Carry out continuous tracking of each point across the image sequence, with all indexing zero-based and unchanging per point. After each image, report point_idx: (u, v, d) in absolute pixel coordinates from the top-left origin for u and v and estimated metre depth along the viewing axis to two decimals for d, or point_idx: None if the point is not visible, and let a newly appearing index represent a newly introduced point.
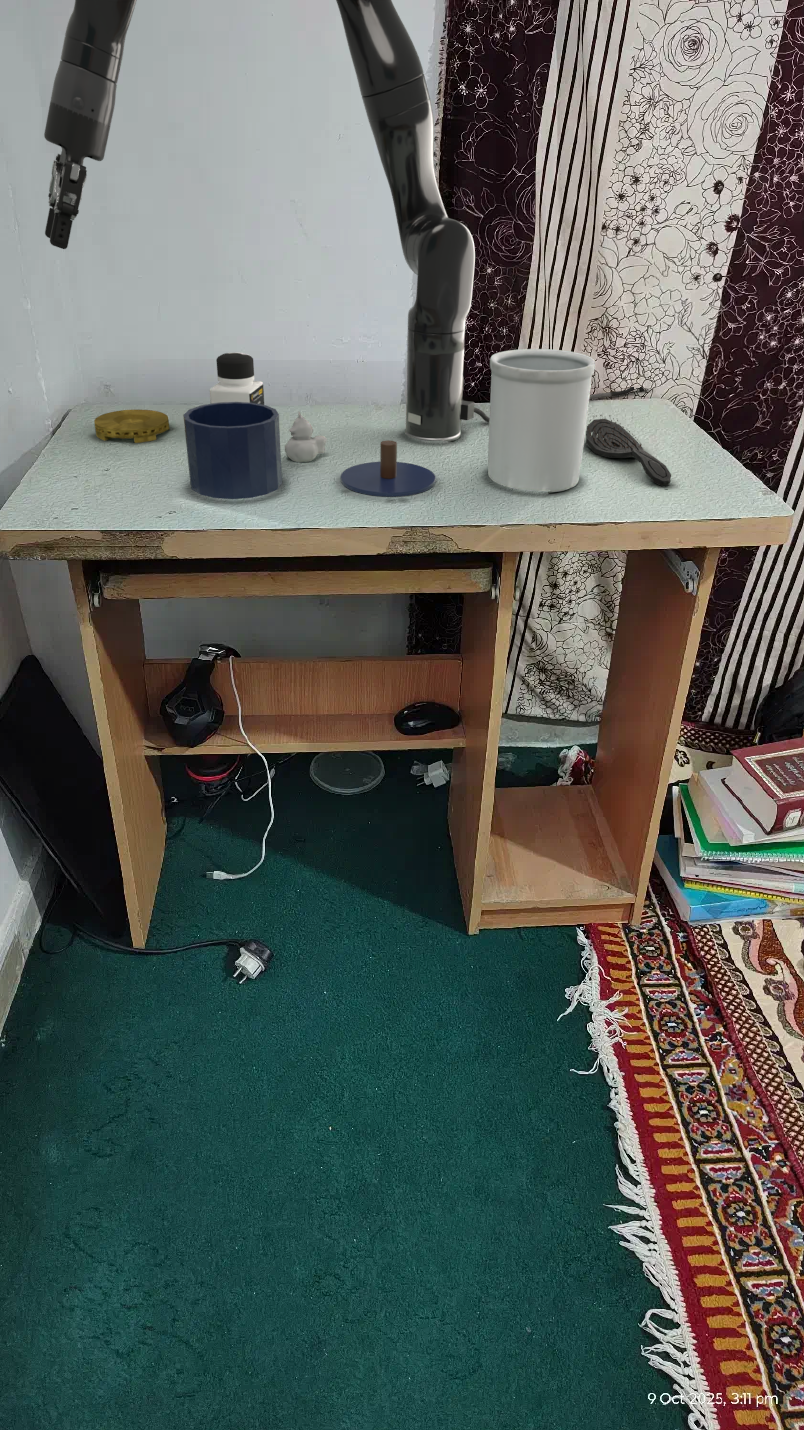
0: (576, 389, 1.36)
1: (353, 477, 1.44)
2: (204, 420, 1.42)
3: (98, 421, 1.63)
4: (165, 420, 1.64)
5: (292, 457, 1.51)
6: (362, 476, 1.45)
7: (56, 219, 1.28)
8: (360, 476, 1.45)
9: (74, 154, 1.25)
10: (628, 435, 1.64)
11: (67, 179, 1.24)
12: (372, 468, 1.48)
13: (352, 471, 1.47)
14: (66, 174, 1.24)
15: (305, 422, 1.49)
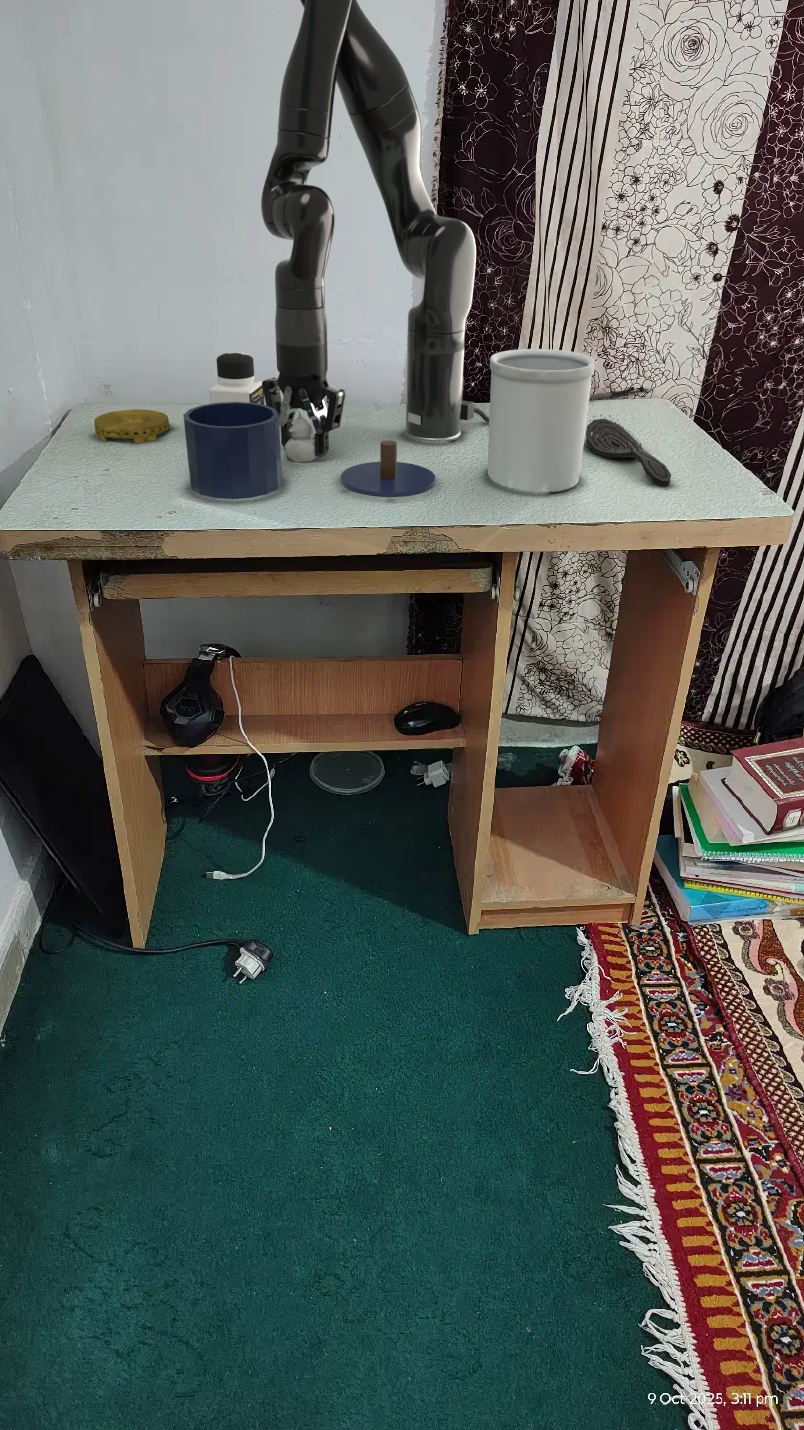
0: (576, 389, 1.36)
1: (353, 477, 1.44)
2: (204, 420, 1.42)
3: (98, 421, 1.63)
4: (165, 420, 1.64)
5: (292, 457, 1.51)
6: (362, 476, 1.45)
7: (319, 437, 1.49)
8: (360, 476, 1.45)
9: (322, 377, 1.45)
10: (628, 435, 1.64)
11: (336, 407, 1.46)
12: (372, 468, 1.48)
13: (352, 471, 1.47)
14: (336, 404, 1.45)
15: (305, 422, 1.49)
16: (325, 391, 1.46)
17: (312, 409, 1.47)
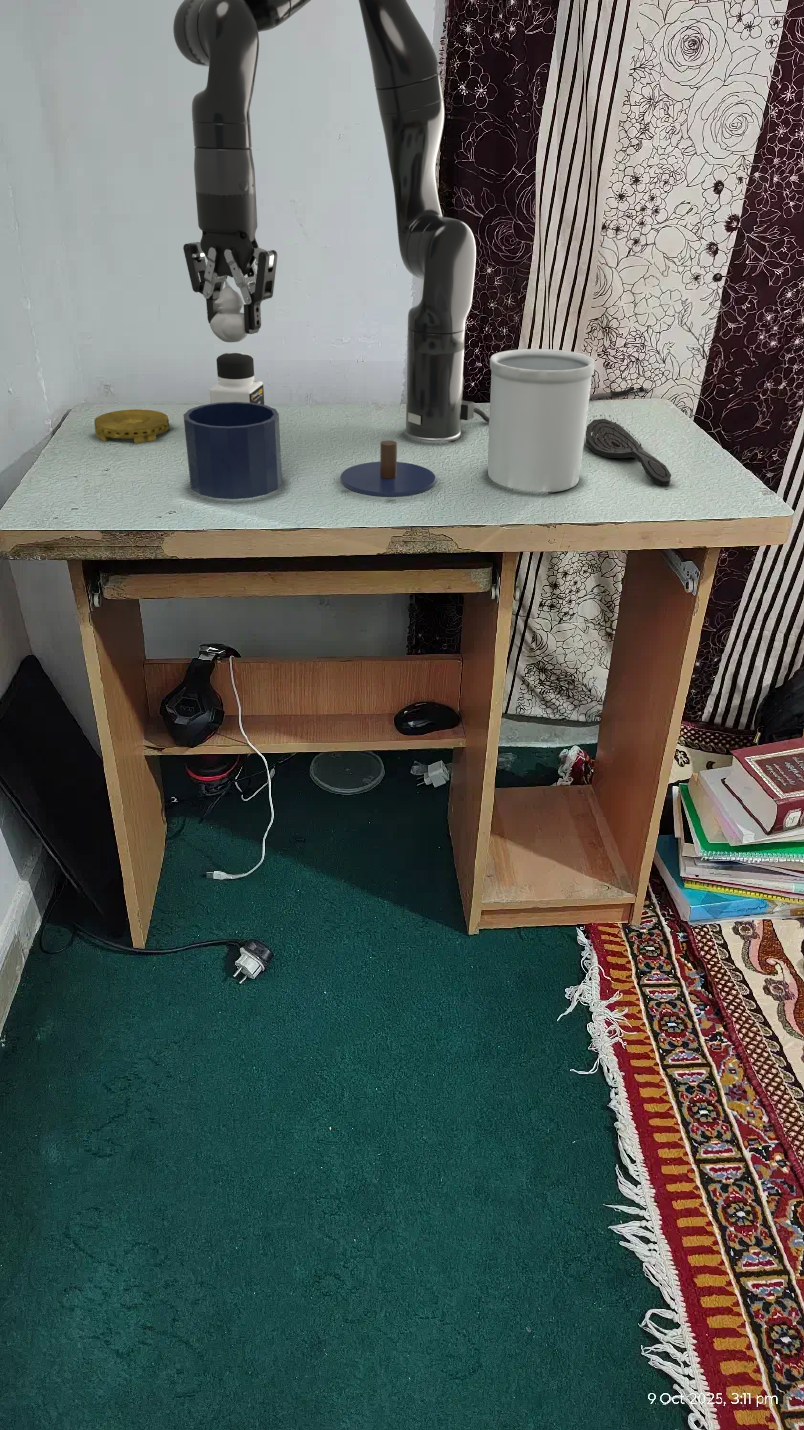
0: (576, 389, 1.36)
1: (353, 477, 1.44)
2: (204, 420, 1.42)
3: (98, 421, 1.63)
4: (165, 420, 1.64)
5: (218, 334, 1.32)
6: (362, 476, 1.45)
7: (249, 309, 1.30)
8: (360, 476, 1.45)
9: (250, 235, 1.25)
10: (628, 435, 1.64)
11: (266, 271, 1.26)
12: (372, 468, 1.48)
13: (352, 471, 1.47)
14: (266, 267, 1.25)
15: (233, 292, 1.30)
16: (254, 252, 1.26)
17: (239, 274, 1.27)
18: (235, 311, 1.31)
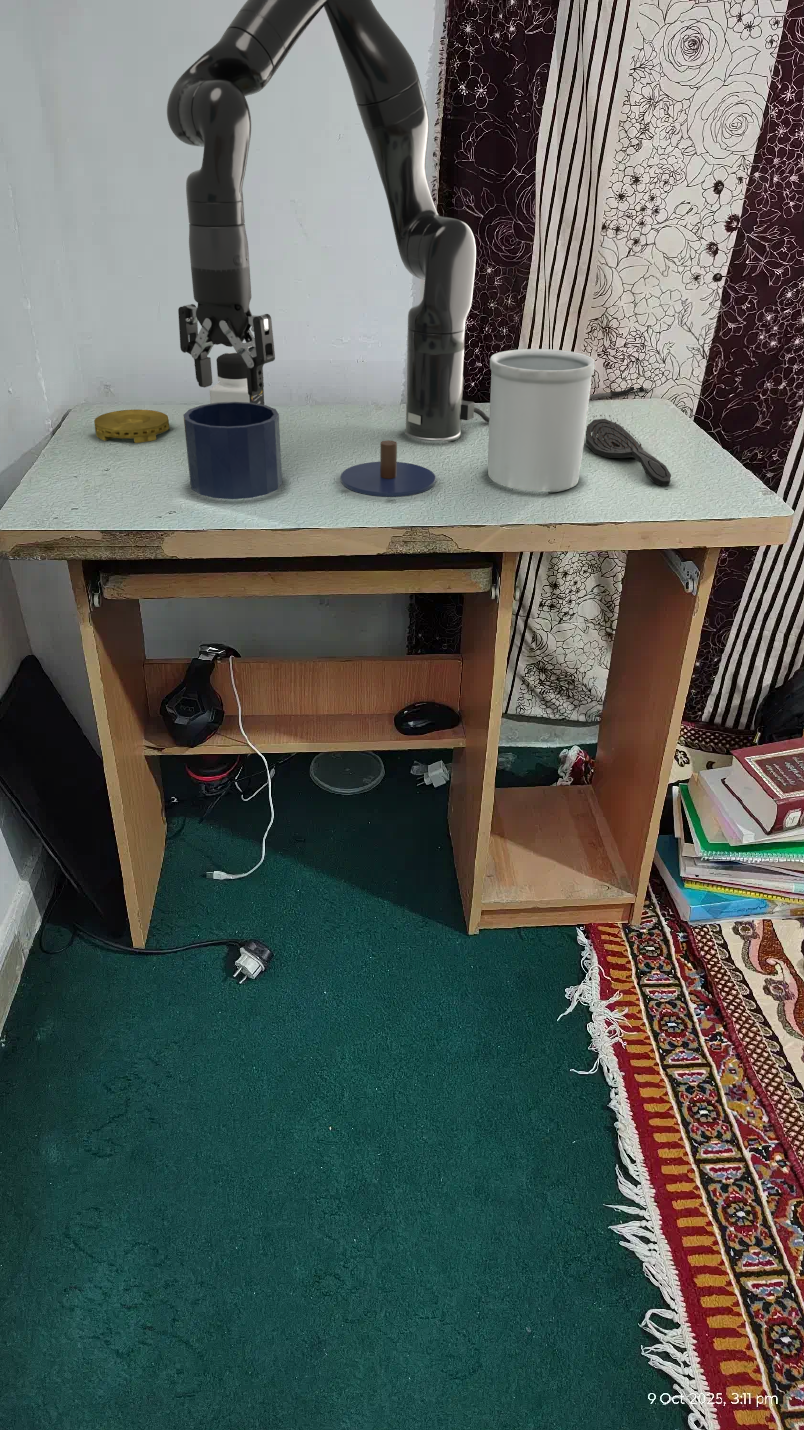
0: (576, 389, 1.36)
1: (353, 477, 1.44)
2: (204, 420, 1.42)
3: (98, 421, 1.63)
4: (165, 420, 1.64)
5: None
6: (362, 476, 1.45)
7: (251, 372, 1.32)
8: (360, 476, 1.45)
9: (245, 307, 1.28)
10: (628, 435, 1.64)
11: (263, 334, 1.28)
12: (372, 468, 1.48)
13: (352, 471, 1.47)
14: (262, 330, 1.28)
15: None
16: (248, 323, 1.29)
17: (234, 344, 1.30)
18: None
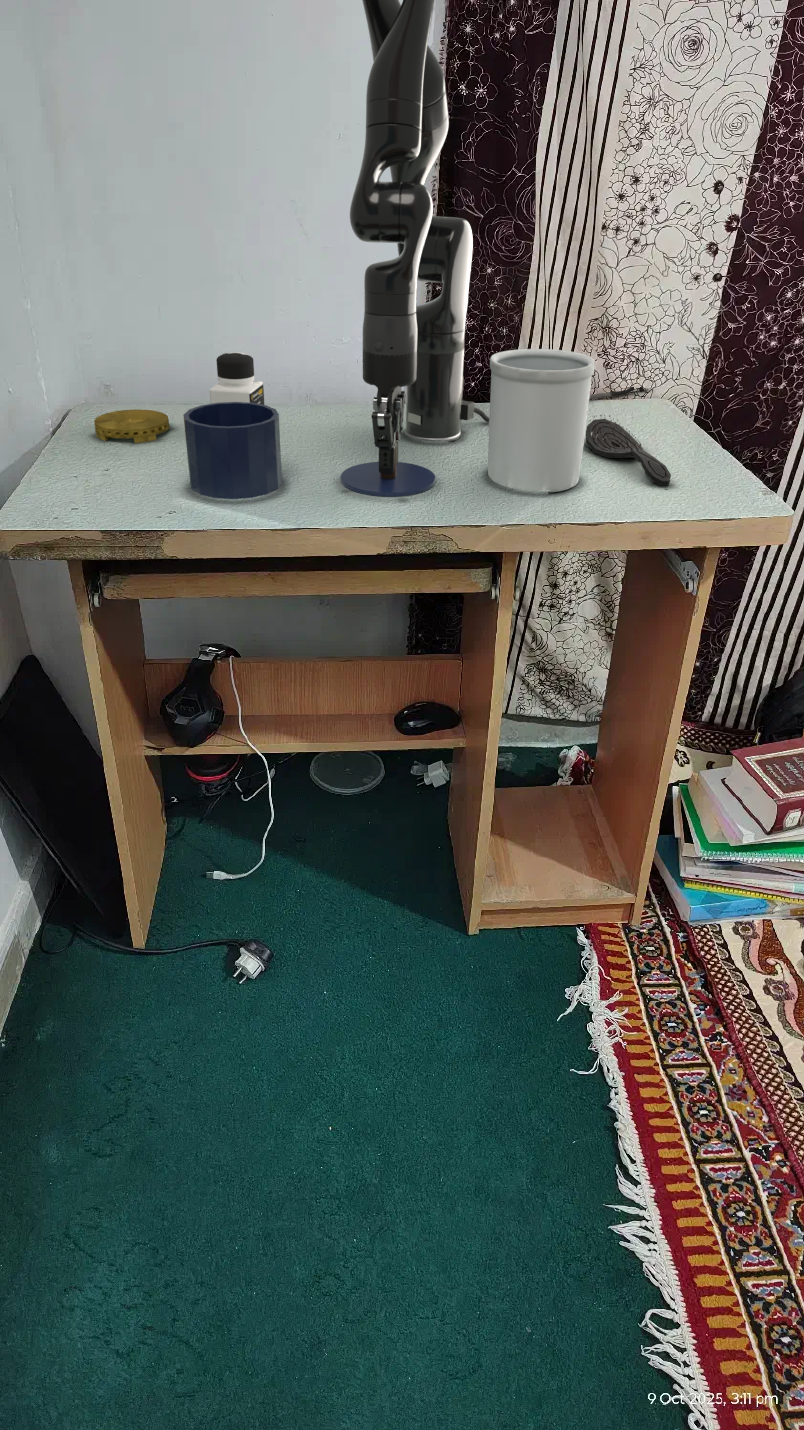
0: (576, 389, 1.36)
1: (353, 477, 1.44)
2: (204, 420, 1.42)
3: (98, 421, 1.63)
4: (165, 420, 1.64)
5: None
6: (362, 476, 1.45)
7: (380, 451, 1.41)
8: (360, 476, 1.45)
9: (383, 390, 1.35)
10: (628, 435, 1.64)
11: (376, 428, 1.36)
12: (372, 468, 1.48)
13: (352, 471, 1.47)
14: (374, 425, 1.35)
15: None
16: (380, 405, 1.35)
17: None
18: None
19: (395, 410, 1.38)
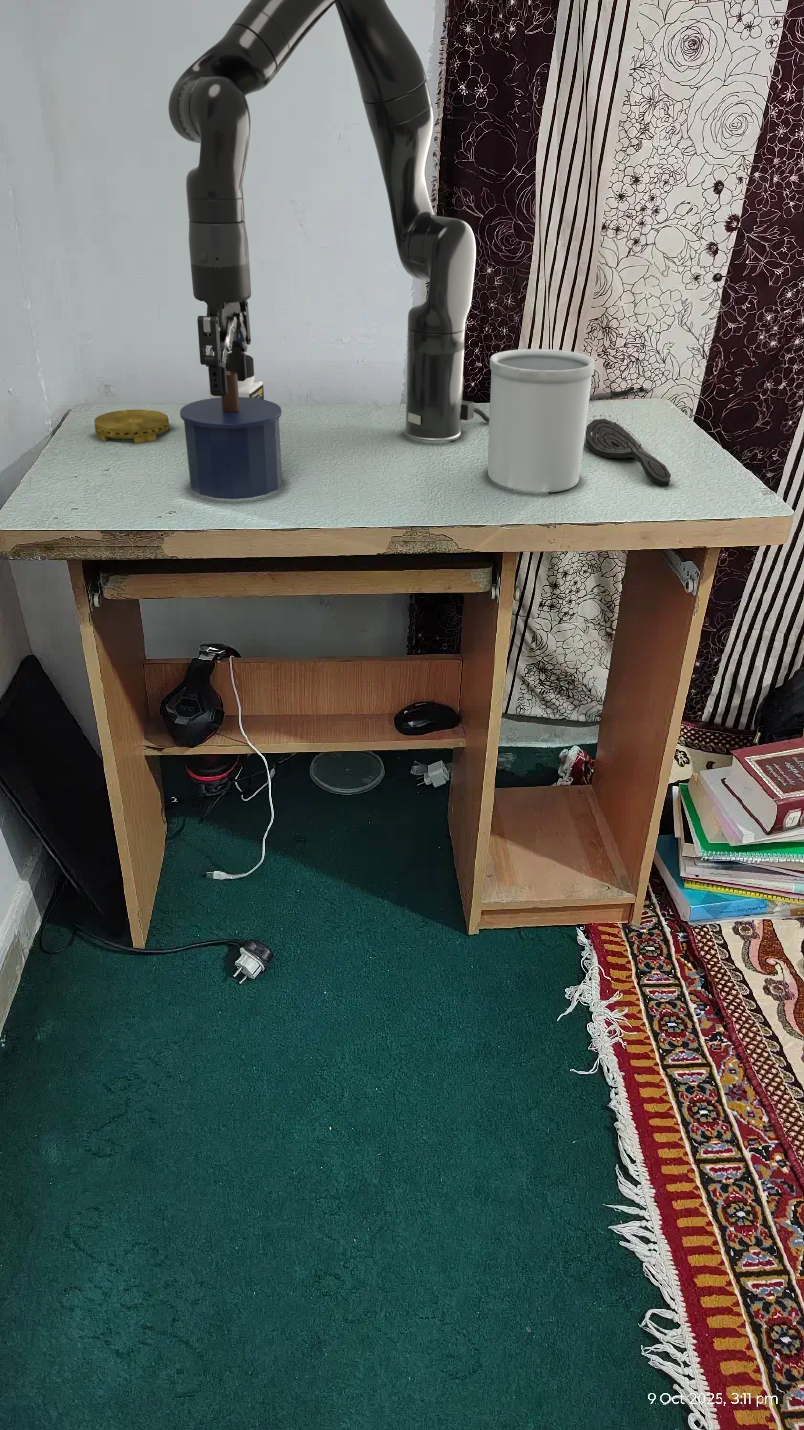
0: (576, 389, 1.36)
1: (193, 410, 1.37)
2: None
3: (98, 421, 1.63)
4: (165, 420, 1.64)
5: None
6: (203, 409, 1.37)
7: (210, 371, 1.31)
8: (201, 409, 1.37)
9: (212, 306, 1.27)
10: (628, 435, 1.64)
11: (202, 334, 1.26)
12: (217, 403, 1.40)
13: (194, 405, 1.39)
14: (200, 330, 1.26)
15: None
16: None
17: None
18: None
19: (228, 326, 1.29)
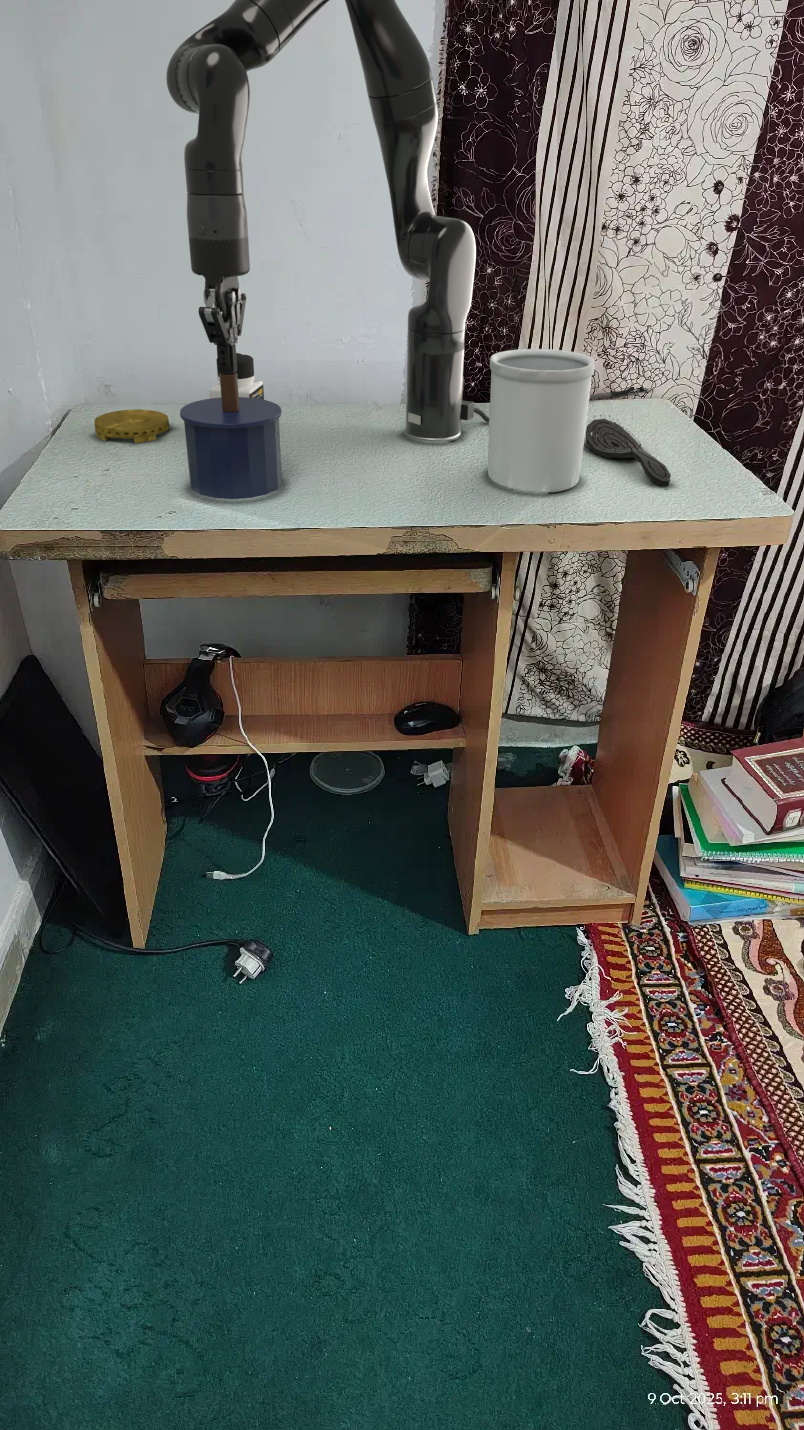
0: (576, 389, 1.36)
1: (193, 410, 1.37)
2: None
3: (98, 421, 1.63)
4: (165, 420, 1.64)
5: None
6: (203, 409, 1.37)
7: None
8: (201, 409, 1.37)
9: (210, 280, 1.25)
10: (628, 435, 1.64)
11: (206, 324, 1.27)
12: (217, 403, 1.40)
13: (194, 405, 1.39)
14: (203, 321, 1.26)
15: None
16: (208, 296, 1.26)
17: None
18: None
19: (228, 305, 1.28)
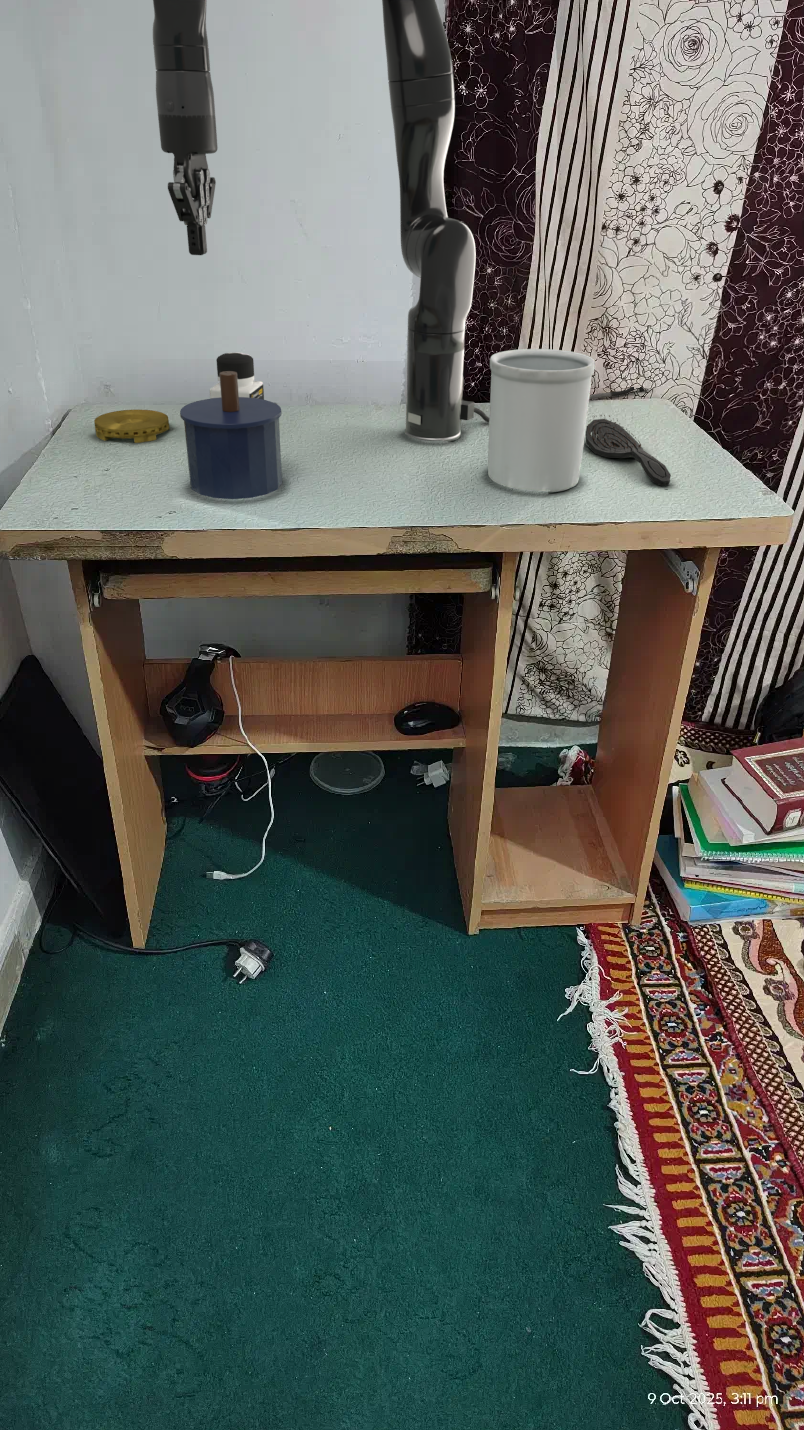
0: (576, 389, 1.36)
1: (193, 410, 1.37)
2: None
3: (98, 421, 1.63)
4: (165, 420, 1.64)
5: None
6: (203, 409, 1.37)
7: None
8: (201, 409, 1.37)
9: (178, 156, 1.31)
10: (628, 435, 1.64)
11: (175, 200, 1.32)
12: (217, 403, 1.40)
13: (194, 405, 1.39)
14: (172, 197, 1.32)
15: None
16: (176, 172, 1.31)
17: None
18: None
19: (196, 183, 1.34)
